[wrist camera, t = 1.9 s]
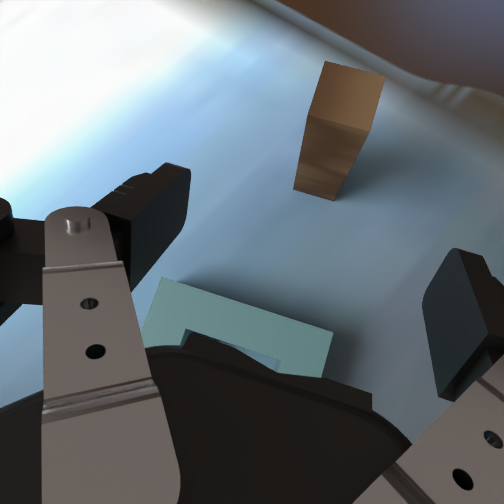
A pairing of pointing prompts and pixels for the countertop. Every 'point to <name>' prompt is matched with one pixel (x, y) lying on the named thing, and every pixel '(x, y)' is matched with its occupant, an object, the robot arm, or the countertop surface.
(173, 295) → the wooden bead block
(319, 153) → the tall brown block
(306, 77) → the countertop surface
